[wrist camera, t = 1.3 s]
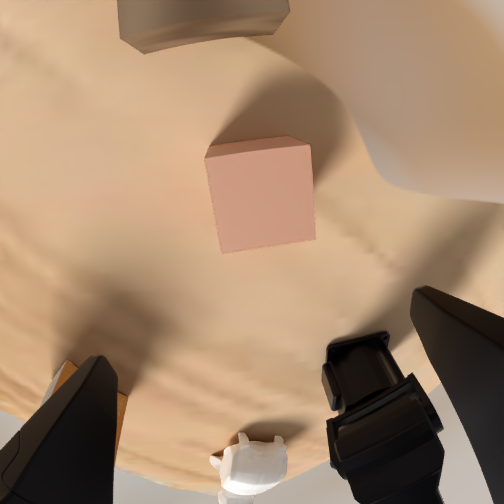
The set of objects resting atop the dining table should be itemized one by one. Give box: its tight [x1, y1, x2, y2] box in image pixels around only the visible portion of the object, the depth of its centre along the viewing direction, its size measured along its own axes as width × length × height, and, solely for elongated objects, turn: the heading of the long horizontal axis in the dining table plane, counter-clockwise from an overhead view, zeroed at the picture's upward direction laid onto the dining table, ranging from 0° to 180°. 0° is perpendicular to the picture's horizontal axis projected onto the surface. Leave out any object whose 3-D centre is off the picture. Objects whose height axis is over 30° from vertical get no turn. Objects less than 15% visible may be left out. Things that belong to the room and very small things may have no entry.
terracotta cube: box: [204, 136, 316, 254], centre depth 17 cm, size 5×5×5 cm
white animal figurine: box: [209, 432, 288, 504], centre depth 32 cm, size 9×8×15 cm
